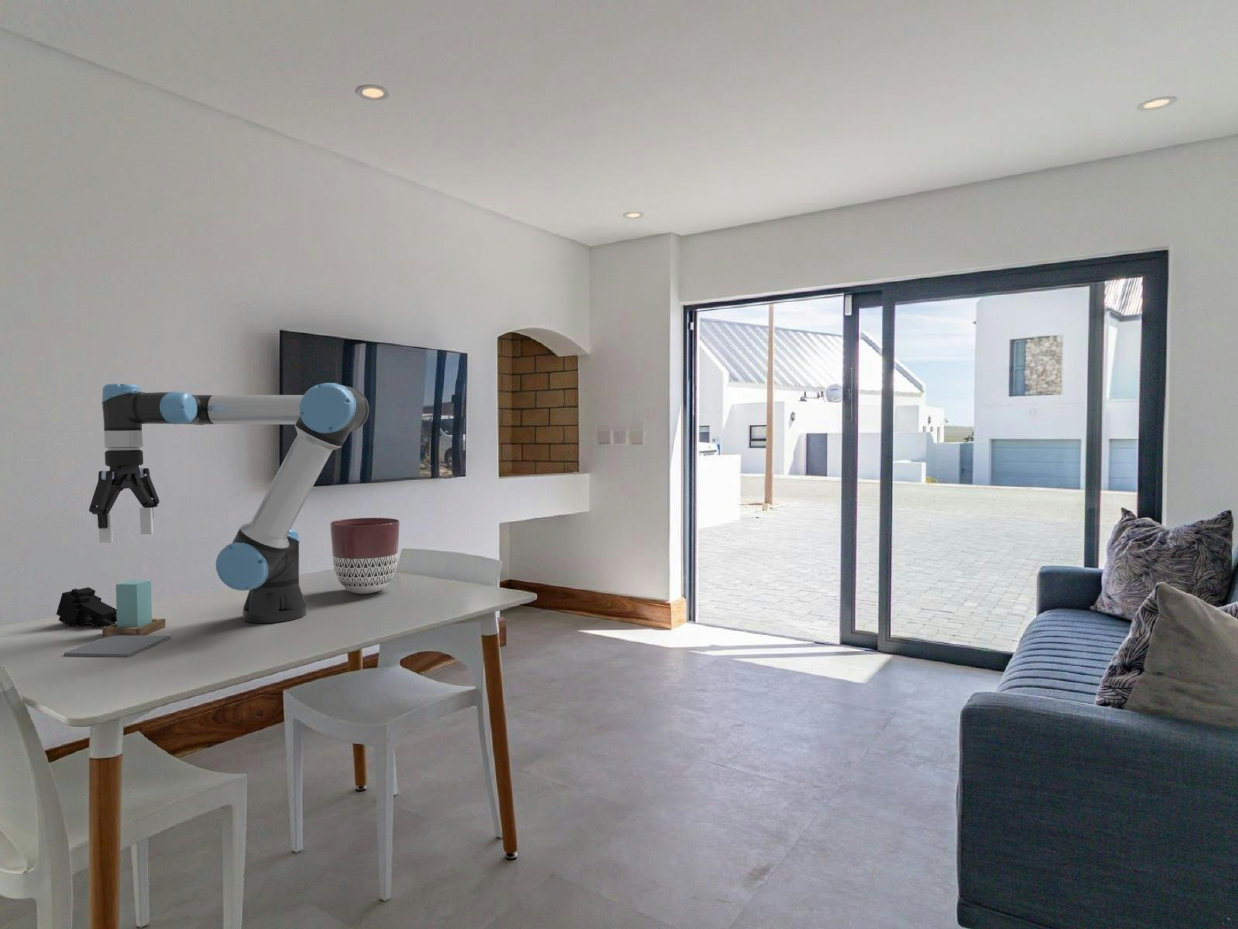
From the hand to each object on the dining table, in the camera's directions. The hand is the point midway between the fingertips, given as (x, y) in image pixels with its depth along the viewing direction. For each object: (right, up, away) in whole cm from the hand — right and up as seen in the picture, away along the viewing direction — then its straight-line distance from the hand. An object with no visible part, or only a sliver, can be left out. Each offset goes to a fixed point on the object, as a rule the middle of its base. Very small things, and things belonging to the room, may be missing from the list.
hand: (127, 538), depth 172 cm
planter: (+41, -21, +45) cm, 64 cm away
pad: (+6, -23, -11) cm, 26 cm away
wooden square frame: (+1, -23, +1) cm, 23 cm away
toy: (-13, -23, +7) cm, 27 cm away
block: (+1, -23, +1) cm, 23 cm away
